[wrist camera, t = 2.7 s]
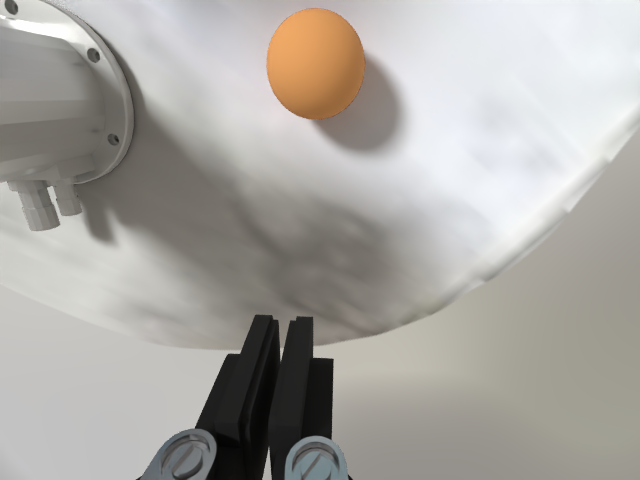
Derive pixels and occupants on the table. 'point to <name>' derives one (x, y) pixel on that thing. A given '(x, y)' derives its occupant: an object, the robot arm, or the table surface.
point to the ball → (315, 63)
